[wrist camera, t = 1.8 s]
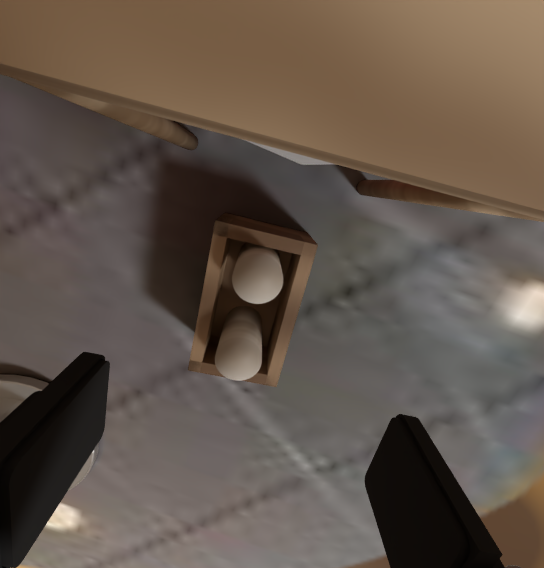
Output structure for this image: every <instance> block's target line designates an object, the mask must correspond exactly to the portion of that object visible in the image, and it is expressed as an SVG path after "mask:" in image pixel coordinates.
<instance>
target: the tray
mask: <svg viewBox="0 0 544 568" xmlns="http://www.w3.org/2000/svg"><path fill="white" fill-rule="evenodd" d="M317 247H318V245H317V243H316V242H315V241H314V240H313V239H312V237H311V236H310V235H309V234H308V233H307V232H303V231H298V230H294V229H290V228H286V227H282V226H278V225H274V224H270V223H266V222H261V221H257V220H253V219H249V218H245V217H241V216H237V215H233V214H229V213H224V214H223V215H222V216H220V217H219V218H218V219H217V220H216V221H215V226H214V231H213V237H212V242H211V248H210V253H209V258H208V264H207V269H206V275H205V280H204V286H203V291H202V296H201V302H200V307H199V313H198V318H197V324H196V329H195V334H194V340H193V345H192V351H191V356H190V362H189V367H188V370H189V371H194V372H200V373H205V374H210V375H216V376H221V377H226V378H228V379H231V380H237V381H240V380H242V381H247V382H253V383H258V384H263V385H268V386H274V387H276V386H277V383H278V380H279V376H280V373H281V369H282V366H283V362H284V359H285V356H286V352H287V349H288V345H289V342H290V339H291V335H292V332H293V328H294V325H295V322H296V318H297V315H298V311H299V308H300V305H301V301H302V298H303V294H304V291H305V288H306V284H307V281H308V277H309V274H310V271H311V267H312V264H313V260H314V257H315V253H316V250H317Z"/></svg>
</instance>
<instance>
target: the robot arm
mask: <svg viewBox="0 0 544 568" xmlns="http://www.w3.org/2000/svg"><path fill="white" fill-rule="evenodd" d="M109 368H110V363H109V362H108V361H105V357H104V356H103V355H99V354H94V353H89V352H83V353H82V354H80V355H79V356H78V357H77V358H76V359H75V360H74V361H73V362H72V363H71V364H70V365H69V366H68V367H66V368H65V369H64V370H63V371H62V372H61V373H60V374H59V375H58V376H57V377H56V378H55V379H54V380H53V381H52V382H51V383H50V384H49V383H47V382H44V381H41V380H37V379H34V378H31V377H26V376H20V375H0V568H16V567H18V566H19V564H20V563H21V562H22V561H23V559H24V558H25V556H26V555H27V553H28V552H29V550H30V548H31V547H32V545H33V544H34V542H35V541H36V539H37V538H38V536H39V534H40V533H41V531H42V530H43V528H44V527H45V525H46V523H47V522H48V520H49V519H50V517H51V516H52V514H53V513H54V511H55V509H56V508H57V506H58V505H59V503H60V502H61V500H62V499H63V497H64V495H65V494H66V492H67V491H68V490H70V489H72V488H74V487H75V486H76V485H78V484H79V483H80V482H81V481H82V480H83V479H84V478H85V477H86V475H87V474H88V473H89V471H90V469H91V468H92V466H93V464H94V462H95V461H96V458H97V454H98V450H99V441H100V439H101V437H102V435H103V432H104V427H105V415H106V403H107V392H108V380H109ZM365 487H366V490H367V493H368V497H369V500H370V503H371V506H372V509H373V513H374V516H375V519H376V522H377V526H378V529H379V532H380V535H381V538H382V542H383V545H384V548H385V551H386V555H387V558H388V561H389V564H390V567H391V568H521V567H518V566H513V565H512V566H511V565H508V566H507V567H504V565H503V564H502V562H501V560H500V557H501V556H502V553H501V552H500V550H499V548H498V547H497V545H496V543H495V542H494V540H493V539H492V537H491V536H490V534H489V532H488V530H487V529H486V528H485V526H484V524H483V522H482V521H481V519H480V517H479V516H478V514H477V513H476V511H475V509H474V508H473V506H472V505H471V503H470V501H469V500H468V498H467V496H466V495H465V493H464V492H463V490H462V488H461V487H460V485H459V483H458V482H457V480H456V479H455V477H454V475H453V474H452V472H451V470H450V469H449V467H448V466H447V464H446V462H445V461H444V459H443V458H442V456H441V454H440V453H439V451H438V449H437V448H436V446H435V445H434V443H433V441H432V440H431V438H430V436H429V435H428V433H427V432H426V430H425V428H424V427H423V425H422V424H421V422H420V420H419V419H418V418H416V417H412V416H407V415H402V414H398V415H397V416H396V418H392V419H391V421H390V423H389V425H388V427H387V429H386V431H385V434H384V436H383V438H382V440H381V442H380V444H379V447H378V449H377V451H376V453H375V455H374V457H373V460H372V462H371V464H370V466H369V468H368V470H367V473H366V475H365Z"/></svg>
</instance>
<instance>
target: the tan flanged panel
mask: <svg viewBox="0 0 544 568" xmlns="http://www.w3.org/2000/svg"><path fill="white" fill-rule="evenodd" d="M0 74H2V75H5V76H9V77H12V78H14V79H17V80H19V81H22V82H24V83H27V84H29V85H31V86H34V87H36V88H39V89H41V90H44V91H46V92H49V93H51V94H53V95H56V96H58V97H61V98H63V99H66V100H68V101H71V102H73V103H75V104H78V105H80V106H83V107H85V108H88V109H90V110H92V111H95V112H97V113H100V114H102V115H105V116H107V117H110V118H112V119H114V120H117V121H119V122H122V123H124V124H127V125H129V126H132V127H134V128H136V129H139V130H141V131H144V132H146V133H149V134H151V135H154V136H156V137H158V138H161V139H163V140H166V141H168V142H171V143H173V144H176V145H178V146H180V147H183V148H185V149H188V150H194V149H196V148H197V146H198V139H197V137H196V136H195V135H194V134H192V133H191V132H189V131H188V130H186V129H184V128H183V127H181V126H180V125H178V124H177V123H175V122H174V121H176V122H180V123H184V124H188V125H191V126H195V127H199V128H203V129H206V130H210V131H214V132H217V133H221V134H225V135H229V136H232V137H236V138H240V139H243V140H247V141H251V142H255V143H258V144H262V145H266V146H270V147H273V148H277V149H281V150H284V151H288V152H292V153H296V154H299V155H303V156H307V157H310V158H314V159H318V160H322V161H325V162H329V163H333V164H337V165H340V166H344V167H348V168H351V169H355V170H359V171H363V172H366V173H370V174H374V175H377V176H381V177H385V178H389V179H392V180H362V181H361V182H359V184H358V185H357V191H358V193H359V194H361V195H365V196H372V197H379V198H385V199H392V200H399V201H406V202H412V203H419V204H426V205H433V206H440V207H446V208H453V209H460V210H467V211H473V212H480V213H487V214H494V215H501V216H507V217H514V218H521V219H528V220H535V221H541V222H544V0H0ZM172 120H173V121H172Z"/></svg>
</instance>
